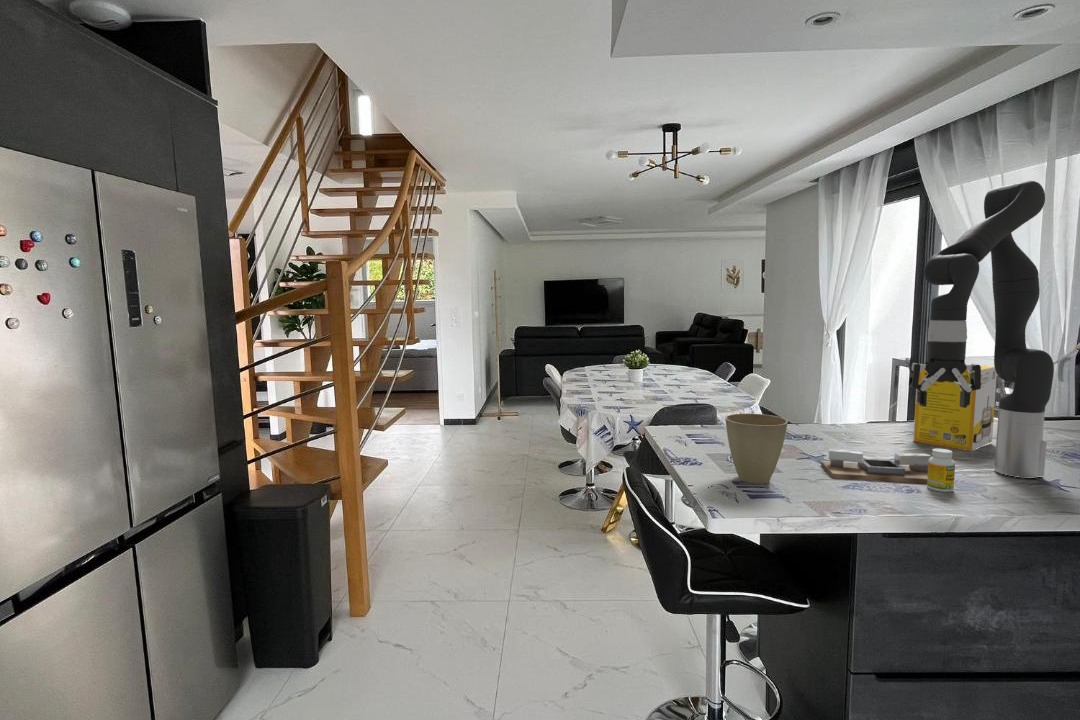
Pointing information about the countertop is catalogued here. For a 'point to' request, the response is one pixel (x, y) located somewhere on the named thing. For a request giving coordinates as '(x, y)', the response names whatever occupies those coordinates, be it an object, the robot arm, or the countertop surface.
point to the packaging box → (956, 413)
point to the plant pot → (755, 444)
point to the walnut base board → (858, 473)
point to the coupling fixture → (881, 462)
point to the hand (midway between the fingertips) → (942, 406)
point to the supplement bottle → (941, 471)
